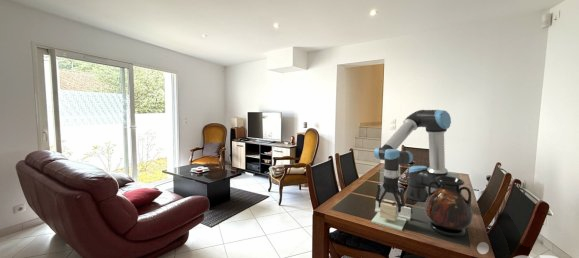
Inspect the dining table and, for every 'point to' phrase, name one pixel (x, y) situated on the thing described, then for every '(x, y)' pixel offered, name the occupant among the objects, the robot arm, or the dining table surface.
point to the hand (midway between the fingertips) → (389, 215)
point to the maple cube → (388, 209)
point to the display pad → (389, 222)
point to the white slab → (404, 213)
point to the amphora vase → (448, 207)
